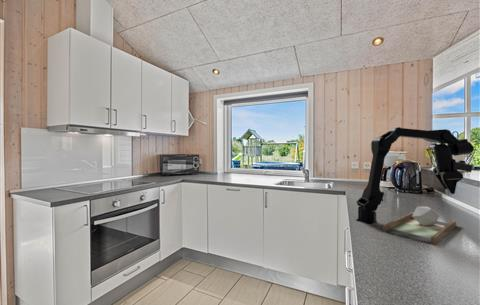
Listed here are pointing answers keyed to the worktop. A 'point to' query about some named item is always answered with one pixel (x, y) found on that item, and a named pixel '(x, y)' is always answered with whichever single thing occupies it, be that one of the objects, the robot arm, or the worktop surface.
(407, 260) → the worktop surface
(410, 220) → the box
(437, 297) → the worktop surface
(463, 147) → the robot arm
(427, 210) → the die
